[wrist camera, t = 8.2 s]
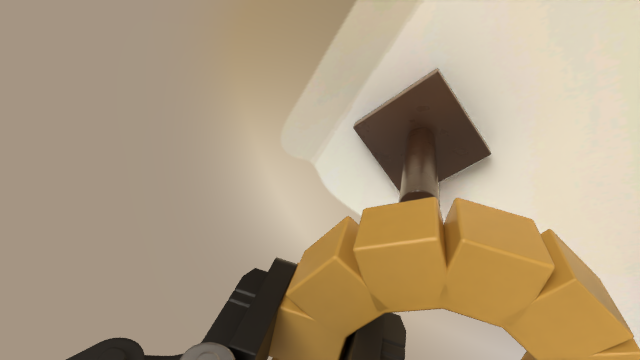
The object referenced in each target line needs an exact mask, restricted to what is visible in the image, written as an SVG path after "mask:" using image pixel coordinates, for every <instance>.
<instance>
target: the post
mask: <svg viewBox="0 0 640 360" xmlns="http://www.w3.org/2000/svg"><path fill="white" fill-rule="evenodd" d="M353 128H354V129H355V131H356V132H357V133H358V135H359V136H360V138H361V139H362V140H363V142H364V143H365V144H366V146H367V147H368V149H369V150H370V151H371V153H372V154H373V156H374V157H375V158H376V160H377V161H378V162H379V164H380V165H381V167H382V168H383V169H384V171H385V172H386V173H387V175H388V176H389V178H390V179H391V180H392V182H393V183H394V184H395V186H396V187H397V189H398V190H399V191H400V198H399V203H400V202H406V201H412V200H418V199H424V198H430V197H436V198H437V200H438V203H439V207H440V201H439V187H438V182H439V181H441V180H443V179H445V178H447V177H449V176H451V175H453V174H455V173H456V172H458V171H460V170H462V169H464V168H466V167H468V166H470V165H472V164H473V163H475V162H477V161H479V160H481V159H483V158H485V157H487V156H489V155H490V154H491V152H490V149H489V147H488V146H487V144H486V142H485V141H484V139H483V138H482V136H481V135H480V133H479V132H478V130H477V129H476V127H475V125H474V124H473V122H472V121H471V119H470V118H469V116H468V115H467V113H466V111H465V110H464V108H463V107H462V105H461V104H460V102H459V101H458V99H457V97H456V96H455V94H454V93H453V91H452V90H451V88H450V87H449V85H448V83H447V82H446V80H445V79H444V77H443V76H442V74H441V73H440V71H439V69H435V70H434V71H432V72H431V73H429V74H428V75H426V76H425V77H423V78H422V79H420V80H419V81H417V82H416V83H414V84H413V85H411V86H410V87H408V88H407V89H405V90H404V91H402V92H401V93H399V94H398V95H396V96H395V97H393V98H392V99H390V100H389V101H387V102H386V103H384V104H383V105H381V106H380V107H378V108H377V109H375V110H374V111H372V112H371V113H369V114H368V115H366V116H365V117H363V118H362V119H360V120H359V121H357V122H356V123H355V125H354V127H353Z"/></svg>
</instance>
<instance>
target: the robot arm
mask: <svg viewBox="0 0 640 360" xmlns="http://www.w3.org/2000/svg"><path fill="white" fill-rule="evenodd" d="M297 266H298V264H295V263H292V262H289V261H286V260H283V259H280V258H276V259H275V260H274V262H273V264H272V266H271V268H270V269H269V271H268V272H266V271H263V270H259V269H257V268H255V269H253V270H252V271H250V272H249V273H247V274H246V275H244V276H243V277H242V279H241V280H240V282H239V283H238V285H237V286H236V288H235V291H233V293H232V295H231V296H230V298H229V300H228V301H227V303H226V304H225V306H224V308H223V309H222V311H221V312H220V314H219V315H218V317H217V319H216V320H215V322H214V323H213V325H212V327H211V328H210V330H209V331H208V333H207V335H206V336H205V338H204V339H203V341H202V342H201V343H200V344H198V345H195V346H193V347H191V348H190V349H188V350H187V351H186V352H185V353H184V354H180V355H175V356H150V355H149V356H148V355H144V352H143V349H142V348H141V346H140V345H139V344H138V343H136V342H135V341H133V340H131V339H127V338H112V339H108V340H104V341H102V342H100V343H98V344H96V345H94V346H92V347H90V348H88V349H86V350H84V351H82V352H80V353H78V354H76V355H74V356H72V357H70V358H68V359H66V360H267V359H268V356H269V350H270V346H271V341H272V337H273V332H274V327H275V323H276V318H277V314H278V309H279V306H280V304H281V301H282V299H283V297H284V295H285V293H286V290H287V288H288V286H289V284H290V281H291V279H292V277H293V275H294V272H295V270H296V268H297ZM405 342H406V330H405V327H404V325H403V322H402V320H401V317H400V316H399V315H396V314H393V313H384V314H383V315H381V316H379V317H378V318H376V319H375V320H373V321H371V322H370V323H368V324H367V325H365V326H363V327H362V328H360V329H357V330H356V331H355V332H354V333H352V334H351V335H349V336H348V339H347V344H346V348H345V353H344V358H343V360H404V359H405Z"/></svg>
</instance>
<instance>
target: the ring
mask: <svg viewBox="0 0 640 360" xmlns="http://www.w3.org/2000/svg"><path fill="white" fill-rule="evenodd" d="M297 264H298V266H297V268H296V270H295V272H294V275H293V277H292V279H291V281H290V284H289V286H288V288H287V290H286V293H285V295H284V297H283V299H282V301H281V304H280V306H279V309H278V314H277V318H276V323H275V327H274V332H273V337H272V341H271V346H270V350H269V356H271V357H273V358H272V360H343V358H344V353H345V348H346V344H347V339H348V336H349V335H351V334H352V333H354V332H355V331H356V330H357V329H360V328H362V327H363V326H365V325H367V324H368V323H370V322H371V321H373V320H375V319H376V318H378V317H379V316H381V315H383V314H384V313H393V312H404V311H418V310H431V309H446V310H449V311H452V312H455V313H458V314H461V315H465V316H468V317H471V318H474V319H477V320H480V321H483V322H487V323H490V324H493V325H496V326H499V327H502V328H503V329H504V330H506V331H507V332H508V333H509V334H510V335H511V336H512V337H513V338H514V339H515V340H516V341H517V342H518V343H519V344H520V345H522V346H523V347H524V348H525V349H526V350H527V352H526V353H525V354H524V356H523V357H522V359H521V360H640V349H639V347H638V345H637V344H636V342H635V340H634V339H633V337H634V336H633V333H632V332H631V330H630V328H629V327H628V325H627V323H626V322H625V320H624V318H623V317H622V315H621V313H620V312H619V310H618V308H617V307H616V305H615V303H614V302H613V300H612V298H611V297H610V295H609V294H608V292H607V290H606V289H605V287H604V285H603V284H602V282H601V280H600V279H599V278H598V277H597V275H596V274H595V273H594V272H593V271H592V270H591V269H590V268H589V267H588V266H587V265H586V264H585V263H584V262H583V261H582V260H581V259H580V258H579V257H578V256H577V255H576V254H575V253H574V252H573V251H572V250H571V249H570V248H569V247H568V246H567V245H566V244H565V243H564V242H563V241H562V240H561V239H560V238H559V237H558V236H557V235H556V234H555V233H554V232H553V231H552V230H551V229H548V230H547V231H545V232H543V233H542V234H540V233H539V231H538V229H537V227H536V225H535V223H534V221H533V220H532V219H529V218H526V217H523V216H519V215H516V214H512V213H509V212H505V211H502V210H498V209H495V208H491V207H488V206H484V205H481V204H477V203H474V202H471V201H467V200H464V199H460V198H456V199H455V200H454V202H453V204H452V206H451V209H450V211H449V213H448V216H447V218H446V220H445V223H444V225H443V220H442V216H441V212H440V207H439V203H438V200H437V198H436V197H430V198H424V199H418V200H412V201H406V202H400V203H394V204H388V205H383V206H377V207H371V208H366V209H364V210H363V213H362V217H361V221H360V224H359V225H358V224H357V223H356V222H355V221H354V220H353V219H352V218H351V217H349V216H348V217H346V218H345V219H343V220H342V221H341V222H340V223H339V224H337V225H336V226H335V227H334V228H332V229H331V230H330V231H329V232H327V233H326V234H325V235H324V236H323V237H321V238H320V239H319V240H318V241H317V242H315V243H314V244H313V245H312V246H311V247H310V248H308V249H307V250H306V251H305V252H304V254H303V256H302V259H301V261H300V263H297Z"/></svg>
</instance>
